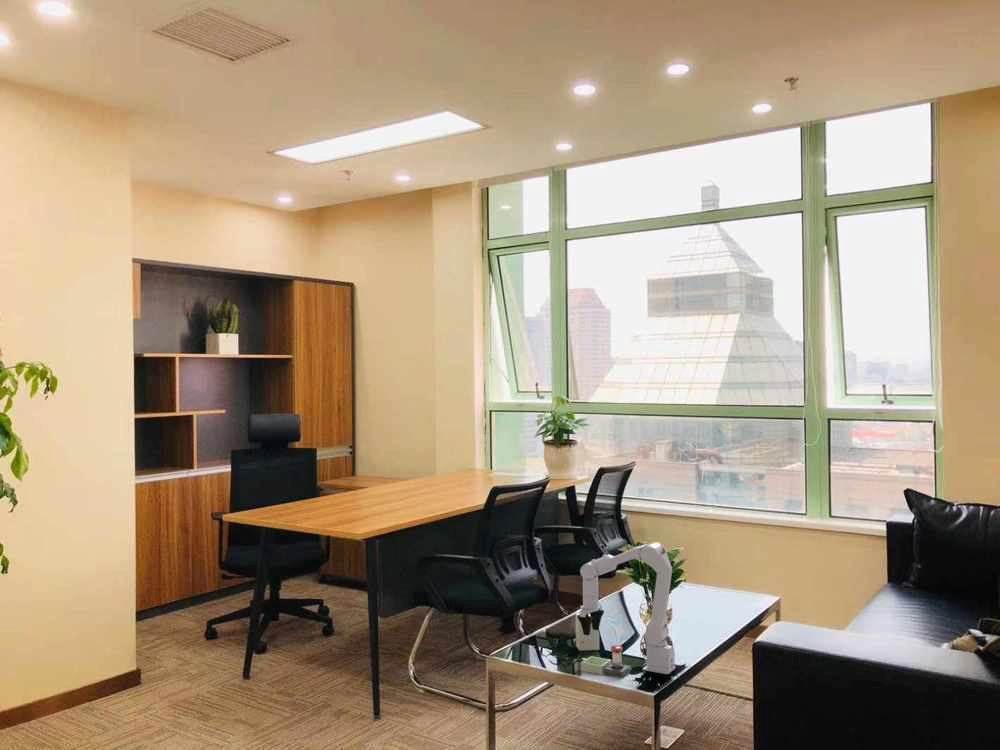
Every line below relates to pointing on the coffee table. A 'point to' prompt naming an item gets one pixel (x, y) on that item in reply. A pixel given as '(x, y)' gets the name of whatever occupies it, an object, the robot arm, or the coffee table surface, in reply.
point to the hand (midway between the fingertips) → (591, 632)
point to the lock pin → (617, 657)
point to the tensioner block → (617, 671)
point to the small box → (586, 637)
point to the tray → (595, 664)
